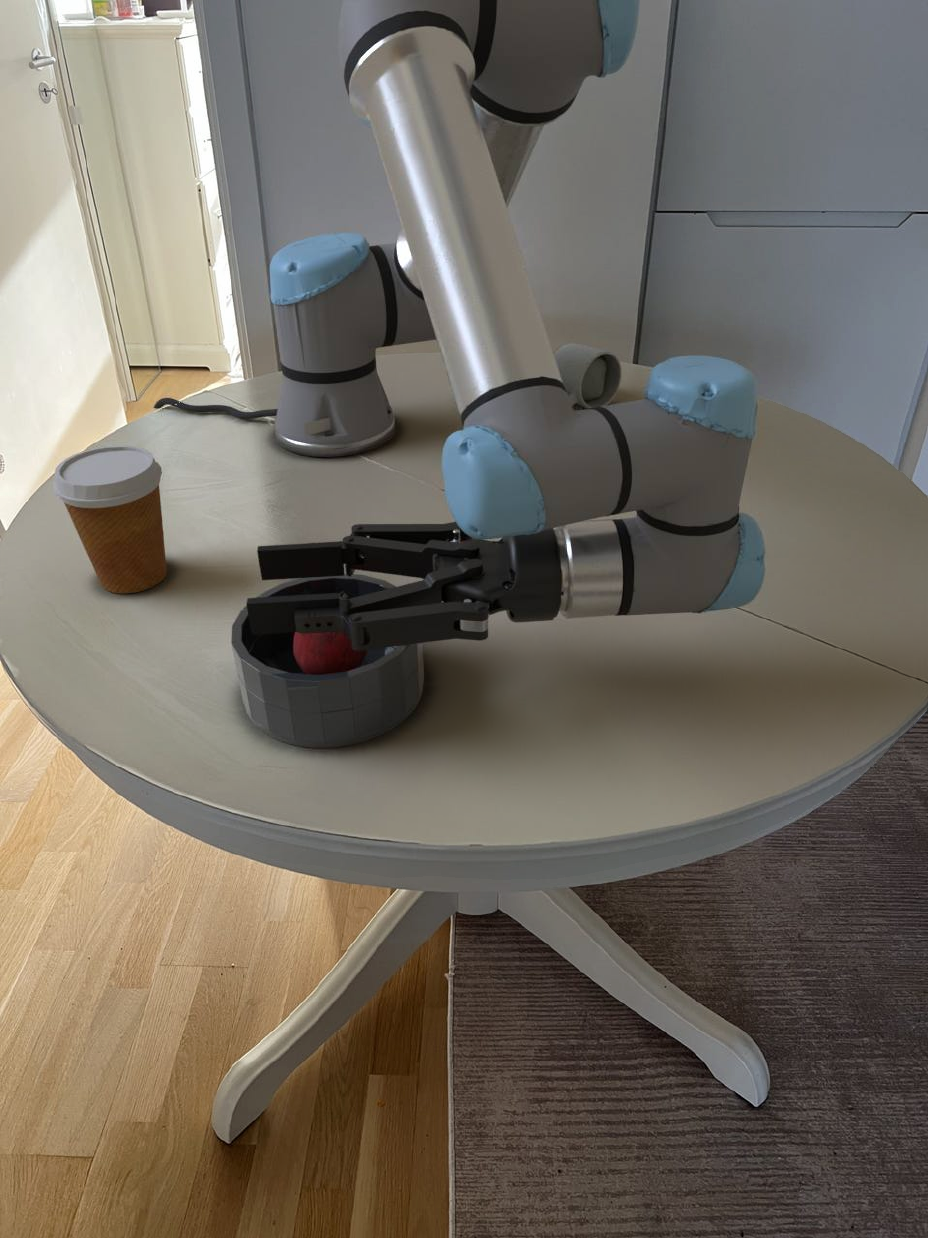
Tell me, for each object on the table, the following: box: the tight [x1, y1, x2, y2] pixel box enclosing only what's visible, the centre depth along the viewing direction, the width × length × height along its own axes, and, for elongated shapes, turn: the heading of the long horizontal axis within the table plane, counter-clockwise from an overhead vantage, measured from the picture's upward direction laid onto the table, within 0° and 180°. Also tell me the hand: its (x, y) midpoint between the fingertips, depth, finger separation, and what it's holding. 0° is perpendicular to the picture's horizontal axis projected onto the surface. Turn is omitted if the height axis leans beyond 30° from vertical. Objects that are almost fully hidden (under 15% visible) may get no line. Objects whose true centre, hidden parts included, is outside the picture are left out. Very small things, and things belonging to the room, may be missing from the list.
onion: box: [293, 632, 367, 675], centre depth 73 cm, size 6×6×8 cm
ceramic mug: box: [553, 343, 623, 409], centre depth 123 cm, size 11×8×8 cm
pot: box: [230, 573, 425, 749], centre depth 74 cm, size 15×15×6 cm
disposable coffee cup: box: [52, 444, 168, 595], centre depth 87 cm, size 10×10×12 cm
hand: (255, 588), depth 69 cm, fingers open, 7 cm apart
